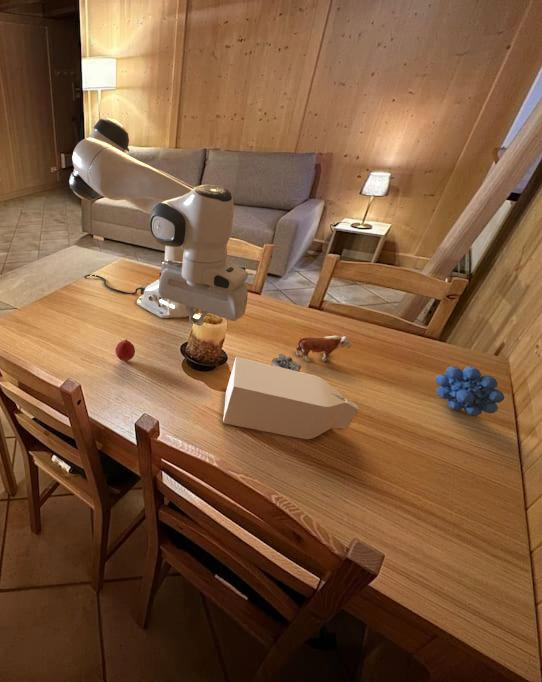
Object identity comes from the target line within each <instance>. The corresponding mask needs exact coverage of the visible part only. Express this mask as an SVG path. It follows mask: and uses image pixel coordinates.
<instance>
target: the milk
mask: <svg viewBox="0 0 542 682" xmlns="http://www.w3.org/2000/svg"><path fill="white" fill-rule="evenodd" d="M224 397H225V398H224V408H223V419H222V424H225V425H230V426H237V427H241V428H247V429H251V430H256V431H261V432H267V433H271V434H276V435H283V436H288V437H293V438H298V439H303V440H311V439H315V438H317V437H319V436H320V435H322V434H324V433H326V432H328V431H329V430H331V429H332V428H334V429H341V428H342V429H347V428H348V429H349V427H350V425H351V423H352V422H353V420H354V419H355V417H356V415H357V413H358V412H359V406H358V404H356V403H354V402H353V401H351V400H350V399H348V398H345V396H344V395H343V394H342V393H340V392H339V391H338V390H337V389H335V388H334V387H333V386H332V385H331V384H330V383H329V382H328V381H326V380H325V379H324V378H322V377H320V376H318V375H315V374H311V373H306V372H302V371H300V372H298V371H294V370H290V369H286V368H282V367H278V366H273V365H272V364H270V363H264V362H261V361H256V360H252V359H248V358H244V357H240V356H235V358H234V362H233V365H232V369H231V372H230V376H229V380H228V382H227V387H226V390H225V396H224Z"/></svg>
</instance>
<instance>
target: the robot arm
mask: <svg viewBox="0 0 542 682" xmlns="http://www.w3.org/2000/svg"><path fill="white" fill-rule="evenodd" d="M129 143H130V137H129V133H128V132H127V130H126V128H125V126H123V124H122V123H121V122H119V121H118V120H116V119H114V118H106V117H102V118H100V119H99V120H98V121H97V122H96V123H95V125H93V130H92V131H91V132H90V135H89V136H88V137H86V138H84V139H82V140H80V141H79V142H77V144H76V146H75V147H74V149H73V152H72V157H71V159H72V166H73V170H72V172H71V173H70V176H69V180H68V183H69V184H68V185H69V188H70V189H71V191H72V192H73V193H74V194H75V195H76V196H77V197H78V198H80V199H82V200H84V201H85V200H86V201H90V202H93V201H97V200H98V198H100V197H104V198H106V199H109V200H112V201H126V202H127V203H129V204H130V205H132V206H133V207H135V208H136V209H138V210H140V211H141V212H143V213H145V214H149V215H150V216H149V230H150V233H151V236H152V237H153V239H154V240H155V241H156V242H157V243H158V244H159V245H161V246H164V247H165V248H164V261H163V262H162V263H161V265H160V266H161V268H160V271H159V272H158V273H157V274H156V277H157V278H158V277H159V278H158V279H157V280H154V281H153V282H151V283H148V282H147V283H145V284H143V285H142V286H140V287H137V288H136V289H135V291H134V292H127V291H122V290H120V289H116V288H113V287H111V286H110V285H108V284H107V280H106V279H105V278H104V277H102V276H101V275H97V274H93V273H91V274H86V275H84V276H83V278H84V279H86V278H87V277H95V278H98V279H101V280H102V281H103V284H104V286H105V287H106V288H107V289H109V290H111V291H114V292H118V293H121V294H125V295H136V294H137V293H138V291H139V290H140V296H139V297H138V298H137V300H136V305H138V306H139V307H141V308H143V309H145V310H146V311H148V312H150V313H152V314H154V315H155V316H157V317H159V318H160V319H169V318H186V317H188V323H191V324H194V325H196V326H199V327H201V326H203V324H204V321H205V317H207V316H208V314H211V315H214V316H217V317H220V318H223V319H226V320H228V321H232V322H236V321H238V320H240V319H241V318H243V316H244V315H245V313H246V310H247V305H248V294H249V293H248V292H249V291H248V286H247V285H246V284H245V282H246V281H247V279H248V277H249V272H248V271H247V270H245V268H242V267H240V266H239V265H237V264H236V263H234V262H232V261H231V260H230V259H228V242H229V240H230V238H231V236H232V230H233V223H234V215H235V214H234V213H235V204H234V197H233V194H232V193H231V191H229V190H228V189H227V188H225V187H224V186H220V185H216V184H201V185H197V186H192V185H191V184H189V183H187V182H185V181H183V180H181V179H179V178H177V177H175V176H173V175H171V174H169V173H167V172H165V171H163V170H161V169H158V168H157V167H153V166H151V165H149V164H146V163H144V162H143V161H141V160H138V159H136V158H134V157H132V156H130V155H129V154H126V152H125V151H127V152H128V153H130V149H129ZM92 274H93V275H92ZM90 275H92V276H90ZM95 275H96V276H95ZM197 310H198V311H199V314H197Z"/></svg>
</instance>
